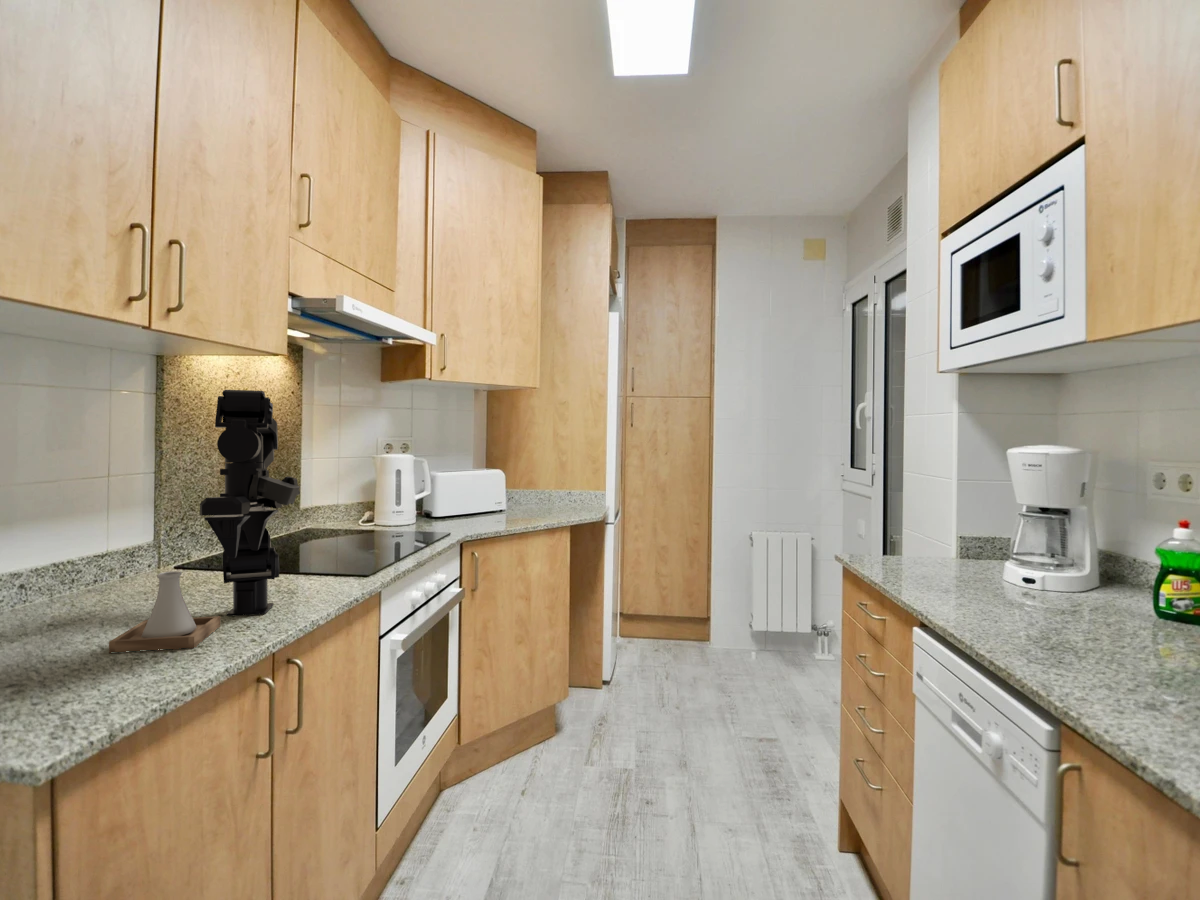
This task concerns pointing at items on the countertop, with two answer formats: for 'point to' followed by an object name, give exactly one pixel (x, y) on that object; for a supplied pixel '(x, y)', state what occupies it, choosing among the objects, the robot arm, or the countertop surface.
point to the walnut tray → (135, 642)
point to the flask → (169, 610)
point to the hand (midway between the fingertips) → (244, 554)
